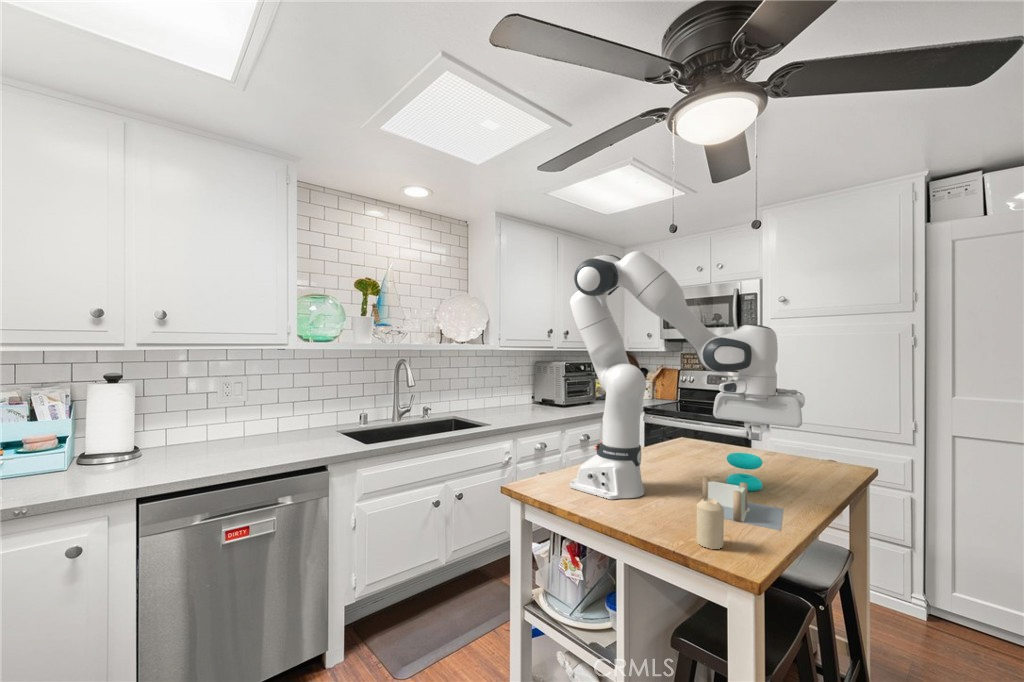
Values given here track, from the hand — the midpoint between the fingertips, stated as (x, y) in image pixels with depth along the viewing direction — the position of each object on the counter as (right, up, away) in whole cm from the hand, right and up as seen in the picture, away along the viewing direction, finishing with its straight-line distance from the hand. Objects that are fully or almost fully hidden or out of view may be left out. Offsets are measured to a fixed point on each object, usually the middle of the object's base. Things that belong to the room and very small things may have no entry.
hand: (755, 440), depth 114 cm
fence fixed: (-5, -20, +7) cm, 22 cm away
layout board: (-2, -20, +4) cm, 21 cm away
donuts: (+10, -21, +24) cm, 33 cm away
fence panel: (-4, -20, 0) cm, 20 cm away
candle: (-19, -20, -16) cm, 32 cm away
